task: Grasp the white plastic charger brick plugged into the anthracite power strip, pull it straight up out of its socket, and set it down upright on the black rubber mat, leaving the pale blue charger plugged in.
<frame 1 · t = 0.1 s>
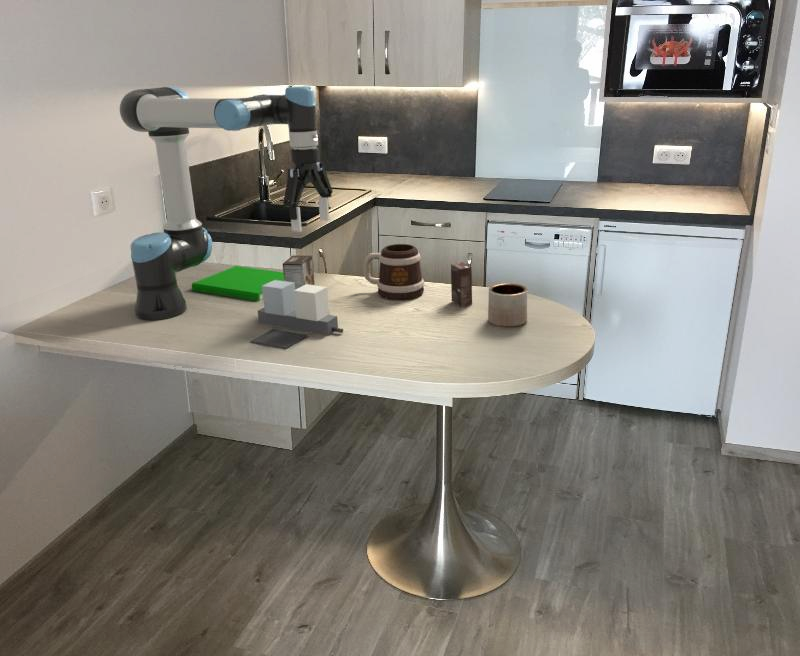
hand: (311, 225, 200), 28 cm above the countertop, fingers open, 13 cm apart
planter: (507, 321, 203), on the countertop
box: (461, 303, 219), on the countertop
mat: (279, 339, 196), on the countertop
coffee box: (302, 310, 218), on the countertop
power strip: (297, 326, 205), on the countertop
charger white: (312, 315, 201), point 4 cm above the countertop, touching power strip
book: (247, 288, 243), on the countertop
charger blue: (281, 310, 206), point 4 cm above the countertop, touching power strip
mug: (393, 293, 230), on the countertop
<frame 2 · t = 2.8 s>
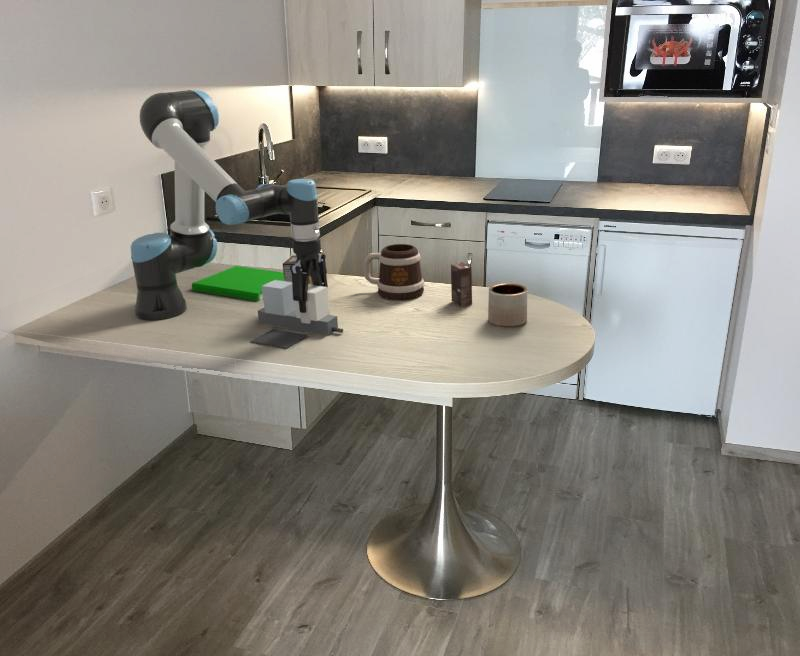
hand: (312, 318, 201), 3 cm above the countertop, fingers closed on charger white, 6 cm apart
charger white: (312, 315, 201), point 4 cm above the countertop, touching gripper, power strip
everything else where it was.
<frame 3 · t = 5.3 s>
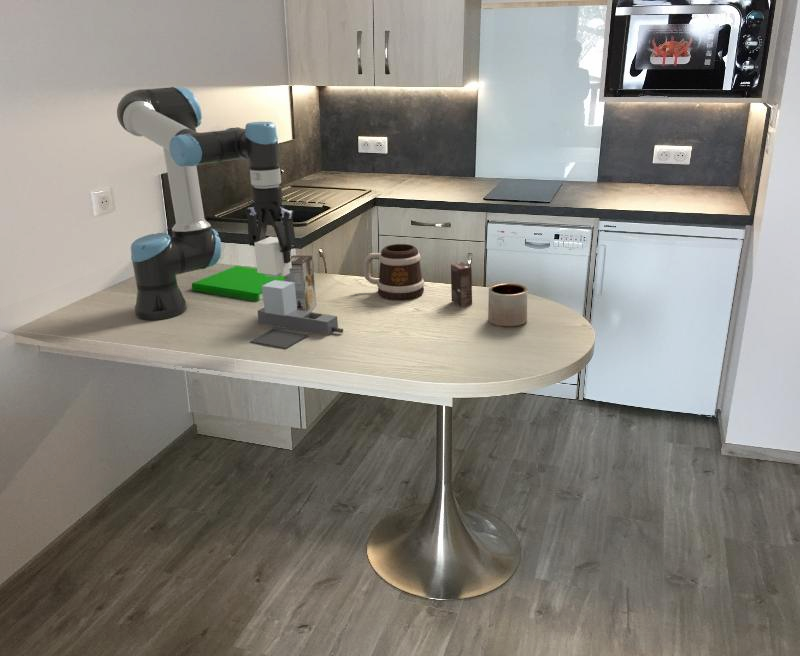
hand: (275, 273, 190), 19 cm above the countertop, fingers closed on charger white, 6 cm apart
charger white: (274, 270, 190), point 19 cm above the countertop, touching gripper
everything else where it was.
when the fingers open (2 cm above the countertop, at t = 7.9 s): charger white drops 1 cm, resting on mat.
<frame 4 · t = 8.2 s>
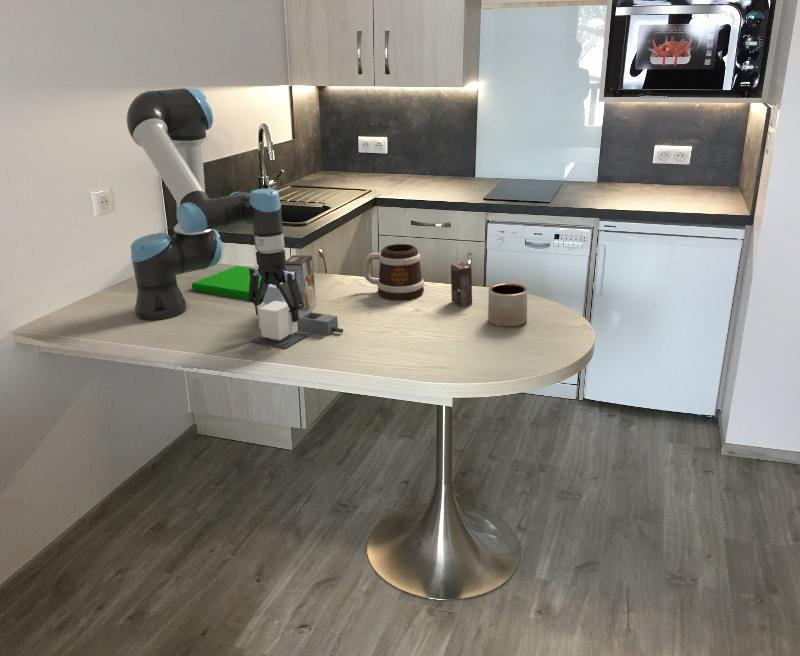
hand: (278, 329, 195), 3 cm above the countertop, fingers open, 9 cm apart
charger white: (278, 333, 196), point 2 cm above the countertop, touching mat
everything else where it was.
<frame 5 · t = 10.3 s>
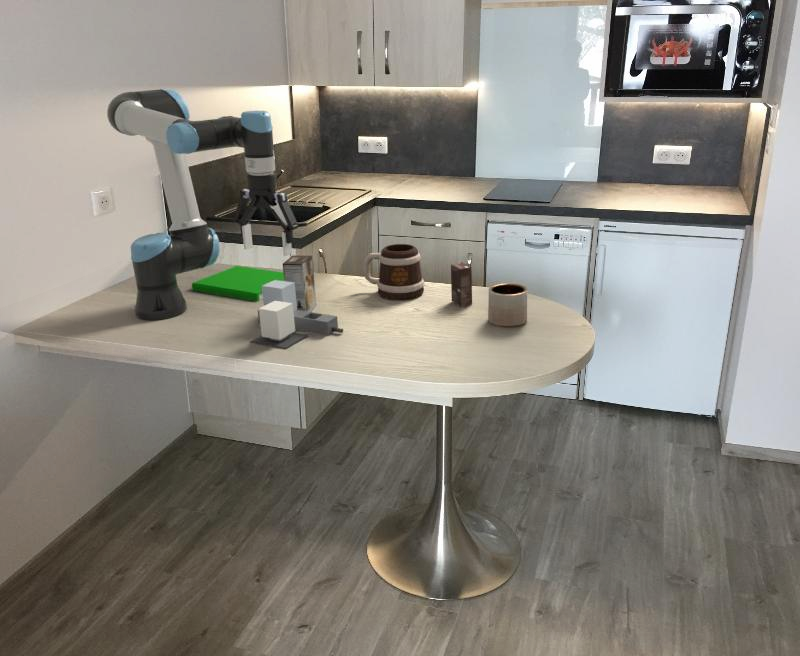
hand: (267, 251, 196), 23 cm above the countertop, fingers open, 13 cm apart
nothing on the countertop moved.
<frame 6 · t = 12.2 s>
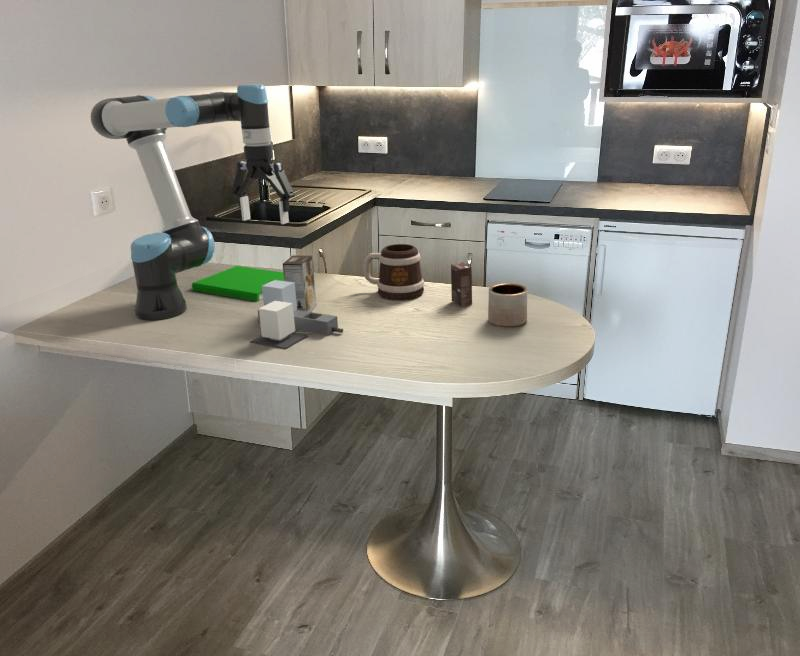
hand: (265, 221, 203), 29 cm above the countertop, fingers open, 13 cm apart
nothing on the countertop moved.
at the end: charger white inside the target area on the mat (0.0 cm from its centre), point 1.6 cm above the mat's base; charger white tilted 0°; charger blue moved 0.1 cm from its start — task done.
